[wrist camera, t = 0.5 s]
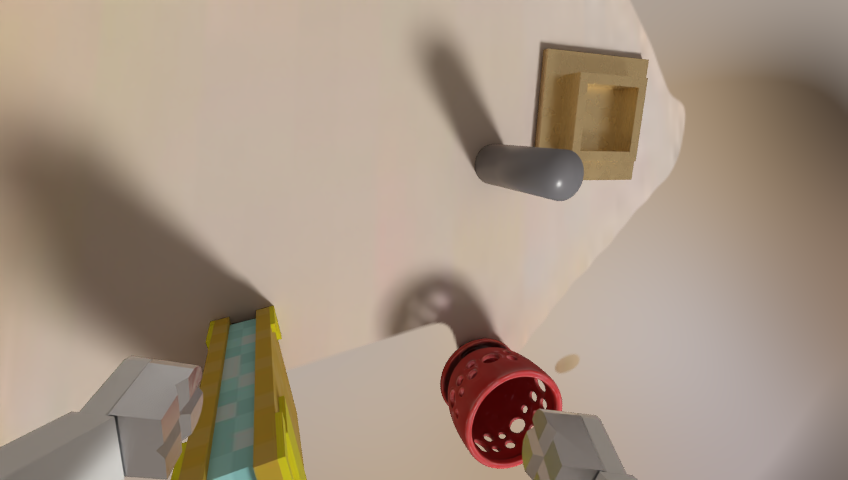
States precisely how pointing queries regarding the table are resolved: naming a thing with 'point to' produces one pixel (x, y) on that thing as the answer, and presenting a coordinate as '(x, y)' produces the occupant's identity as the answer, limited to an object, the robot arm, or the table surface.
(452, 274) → the table surface
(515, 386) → the plant pot
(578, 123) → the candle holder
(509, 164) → the grey cylinder
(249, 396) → the book
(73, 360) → the table surface
